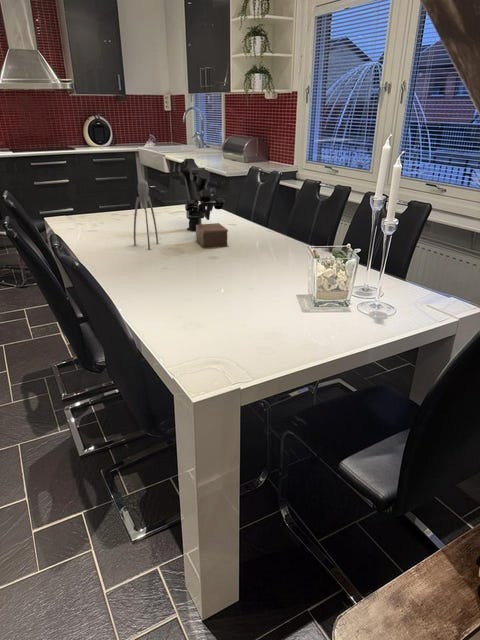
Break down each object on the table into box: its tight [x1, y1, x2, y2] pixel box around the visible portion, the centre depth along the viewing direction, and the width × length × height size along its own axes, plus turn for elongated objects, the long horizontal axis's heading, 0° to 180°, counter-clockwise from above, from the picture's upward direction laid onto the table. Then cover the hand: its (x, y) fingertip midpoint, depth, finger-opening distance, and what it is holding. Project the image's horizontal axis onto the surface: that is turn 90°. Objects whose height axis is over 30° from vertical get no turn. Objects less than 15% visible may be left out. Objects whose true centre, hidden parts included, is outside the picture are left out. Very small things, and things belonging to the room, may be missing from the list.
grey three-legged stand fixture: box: [133, 179, 159, 251], centre depth 213 cm, size 11×10×30 cm
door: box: [196, 222, 229, 233], centre depth 221 cm, size 14×12×1 cm
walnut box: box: [195, 227, 228, 249], centre depth 223 cm, size 14×12×7 cm
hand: (208, 219), depth 224 cm, fingers closed
